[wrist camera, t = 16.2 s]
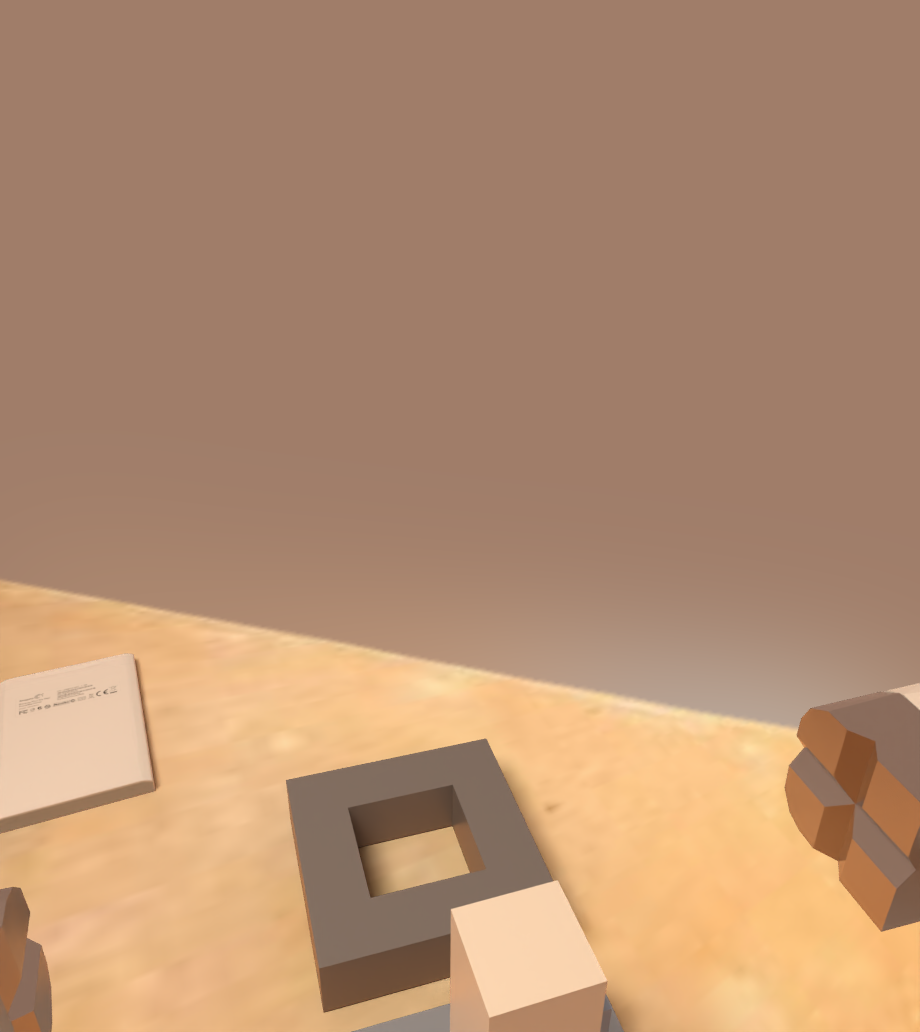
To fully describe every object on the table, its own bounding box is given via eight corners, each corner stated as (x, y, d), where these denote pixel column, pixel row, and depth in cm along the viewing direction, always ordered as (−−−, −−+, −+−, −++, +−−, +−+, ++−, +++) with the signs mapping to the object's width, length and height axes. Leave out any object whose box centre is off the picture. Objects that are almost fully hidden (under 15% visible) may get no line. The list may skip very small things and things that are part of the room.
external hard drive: (-4, 843, 47) (3, 699, 57) (157, 798, 49) (137, 668, 59) (-12, 821, 46) (-3, 679, 56) (153, 777, 49) (133, 649, 59)
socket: (323, 1012, 38) (319, 968, 37) (290, 821, 47) (286, 780, 46) (559, 946, 41) (563, 903, 39) (484, 778, 50) (486, 738, 49)
